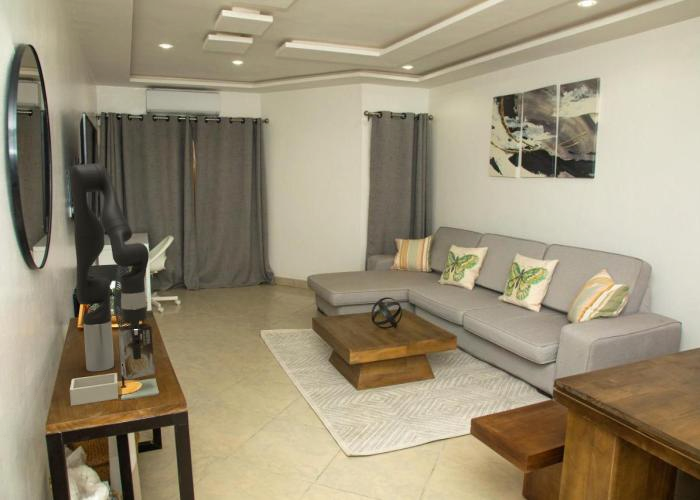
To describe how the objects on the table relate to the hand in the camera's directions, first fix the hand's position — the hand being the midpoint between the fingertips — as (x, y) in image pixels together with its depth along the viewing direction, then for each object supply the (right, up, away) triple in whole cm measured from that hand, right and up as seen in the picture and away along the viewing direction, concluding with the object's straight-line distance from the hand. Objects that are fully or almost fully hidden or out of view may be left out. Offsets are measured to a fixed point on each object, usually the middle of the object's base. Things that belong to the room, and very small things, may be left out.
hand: (136, 355), depth 173 cm
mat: (0, -11, +2) cm, 12 cm away
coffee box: (0, -7, +1) cm, 7 cm away
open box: (-12, -12, -4) cm, 17 cm away
